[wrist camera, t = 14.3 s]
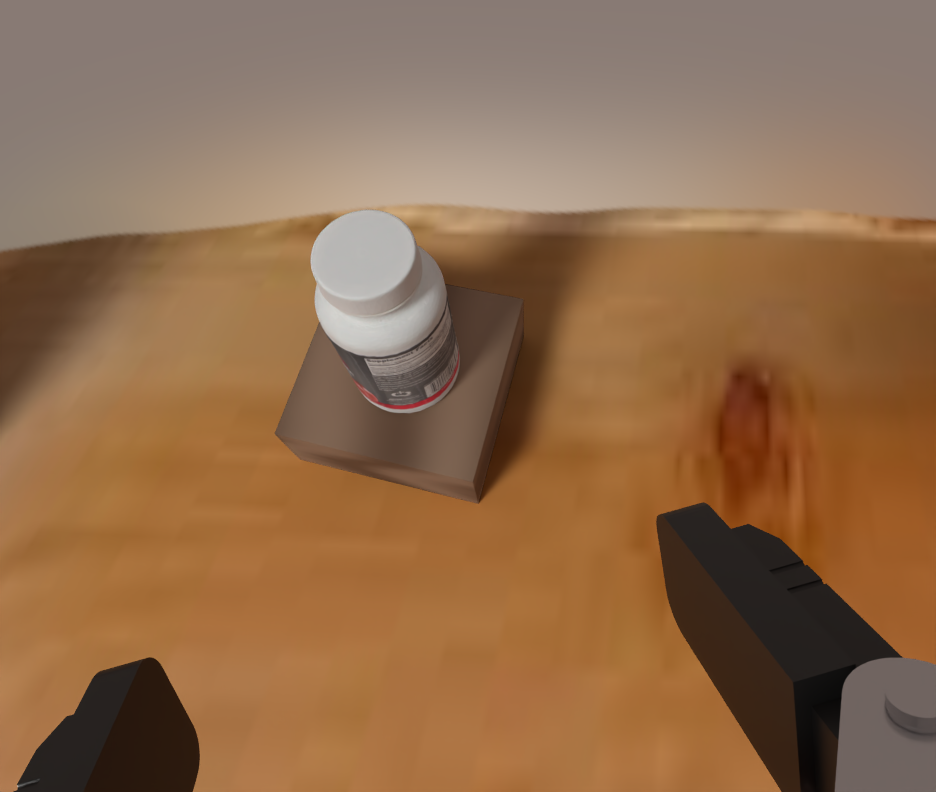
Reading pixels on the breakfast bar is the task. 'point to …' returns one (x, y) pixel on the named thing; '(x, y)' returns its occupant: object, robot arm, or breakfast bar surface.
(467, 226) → the breakfast bar surface
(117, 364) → the breakfast bar surface
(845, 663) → the robot arm
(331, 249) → the pill bottle
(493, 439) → the walnut base
